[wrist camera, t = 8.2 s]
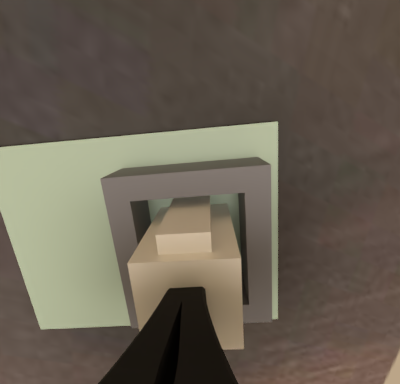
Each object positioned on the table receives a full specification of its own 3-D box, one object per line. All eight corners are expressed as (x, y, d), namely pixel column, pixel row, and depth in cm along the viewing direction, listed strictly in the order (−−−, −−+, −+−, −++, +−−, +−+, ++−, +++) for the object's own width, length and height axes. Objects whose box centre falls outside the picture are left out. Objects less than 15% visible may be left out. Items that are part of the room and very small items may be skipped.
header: (274, 310, 17) (292, 358, 13) (48, 320, 18) (8, 367, 14) (273, 121, 13) (297, 119, 10) (-8, 147, 14) (-79, 154, 11)
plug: (229, 262, 15) (244, 349, 9) (168, 265, 15) (142, 351, 9) (226, 190, 14) (240, 237, 8) (159, 194, 14) (123, 243, 8)
